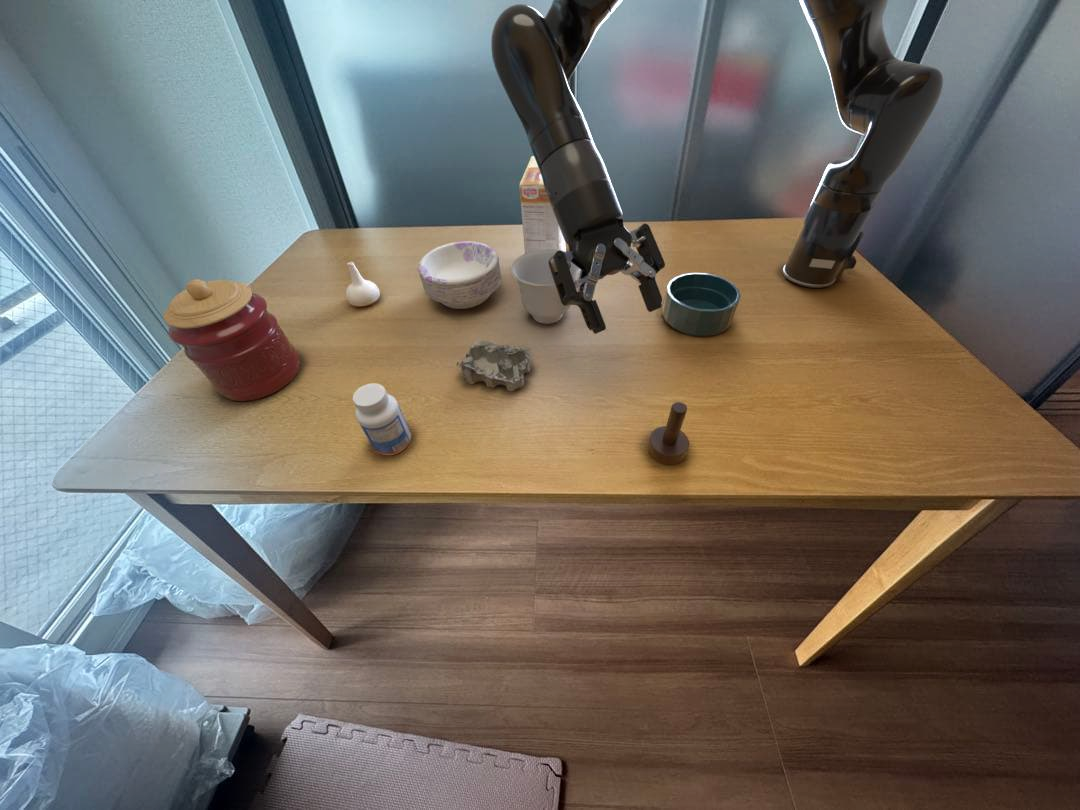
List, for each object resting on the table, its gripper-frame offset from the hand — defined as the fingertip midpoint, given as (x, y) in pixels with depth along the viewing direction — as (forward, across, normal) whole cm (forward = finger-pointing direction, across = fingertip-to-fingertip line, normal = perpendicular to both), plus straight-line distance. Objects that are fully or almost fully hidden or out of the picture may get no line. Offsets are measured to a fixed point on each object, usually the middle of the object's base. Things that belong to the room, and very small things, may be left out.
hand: (628, 320), depth 52 cm
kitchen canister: (-15, -47, +36) cm, 61 cm away
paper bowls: (-17, -8, +38) cm, 43 cm away
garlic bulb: (-24, -26, +45) cm, 57 cm away
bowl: (+4, +24, +17) cm, 30 cm away
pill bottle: (+3, -32, +18) cm, 36 cm away
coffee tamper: (+18, 0, +3) cm, 18 cm away
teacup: (-6, +3, +27) cm, 28 cm away
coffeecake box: (-18, +11, +38) cm, 44 cm away
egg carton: (0, -13, +21) cm, 25 cm away
